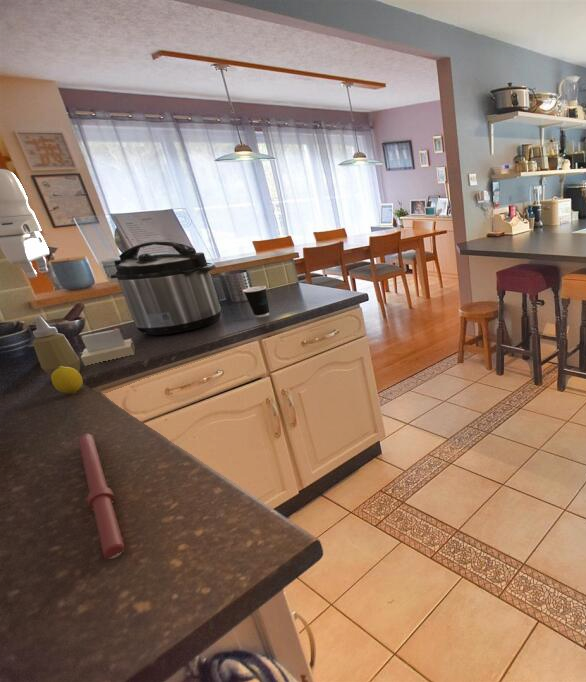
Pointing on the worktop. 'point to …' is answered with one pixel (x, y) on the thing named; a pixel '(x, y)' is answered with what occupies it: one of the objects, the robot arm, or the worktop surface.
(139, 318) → the pressure cooker
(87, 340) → the light grey rectangular block
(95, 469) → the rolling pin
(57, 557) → the worktop surface
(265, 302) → the dixie cup
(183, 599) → the worktop surface
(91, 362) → the block
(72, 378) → the lemon
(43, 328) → the squeeze bottle
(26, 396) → the worktop surface
